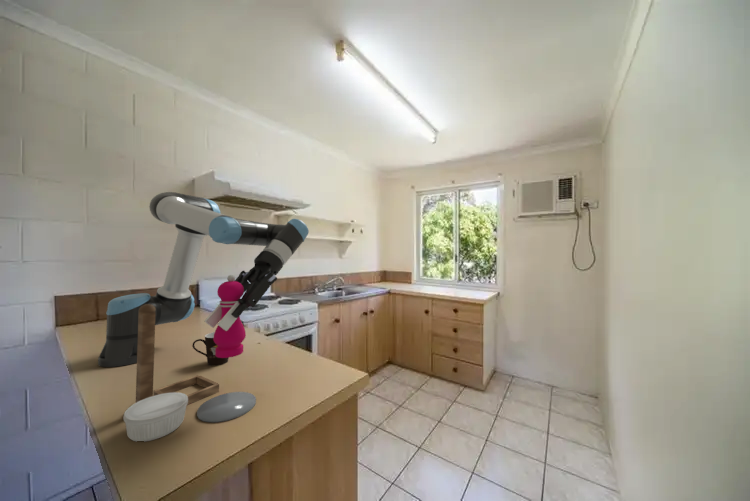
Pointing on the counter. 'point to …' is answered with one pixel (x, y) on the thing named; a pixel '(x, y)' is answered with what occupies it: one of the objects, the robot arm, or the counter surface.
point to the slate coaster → (226, 407)
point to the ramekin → (155, 416)
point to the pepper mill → (236, 333)
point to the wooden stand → (147, 364)
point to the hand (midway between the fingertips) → (215, 325)
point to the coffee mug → (211, 350)
